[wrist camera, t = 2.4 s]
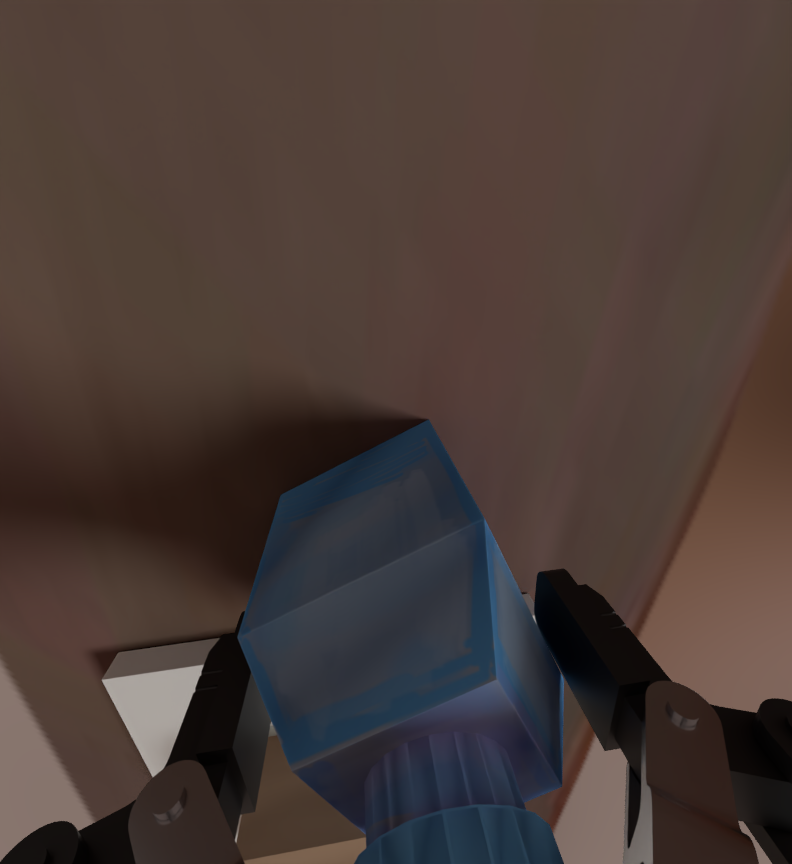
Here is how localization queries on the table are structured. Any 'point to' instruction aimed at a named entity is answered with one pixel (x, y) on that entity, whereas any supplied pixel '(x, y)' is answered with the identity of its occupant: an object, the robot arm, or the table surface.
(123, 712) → the build board
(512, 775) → the perfume bottle
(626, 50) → the table surface
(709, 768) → the robot arm
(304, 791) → the walnut block
